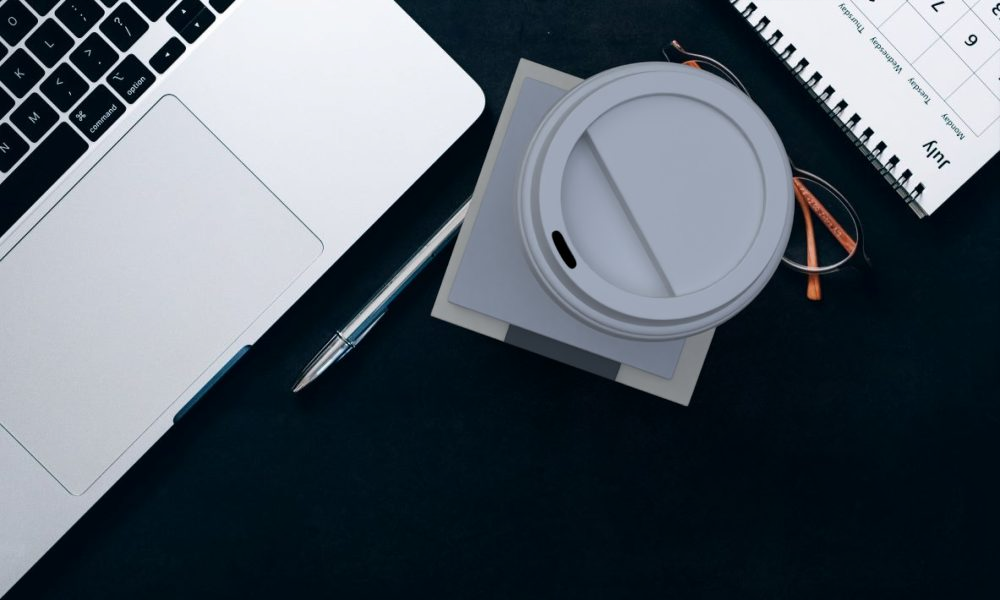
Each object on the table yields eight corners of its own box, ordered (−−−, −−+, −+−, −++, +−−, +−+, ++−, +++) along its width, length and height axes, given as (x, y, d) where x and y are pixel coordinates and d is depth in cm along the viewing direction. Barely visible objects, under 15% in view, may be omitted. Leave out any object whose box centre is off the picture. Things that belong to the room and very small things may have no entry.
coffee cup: (503, 145, 41) (496, 62, 26) (694, 123, 40) (799, 27, 26) (524, 334, 41) (529, 361, 26) (714, 313, 41) (830, 329, 26)
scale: (678, 400, 44) (691, 409, 41) (435, 314, 44) (428, 316, 41) (766, 155, 44) (786, 144, 40) (520, 69, 44) (520, 52, 41)
